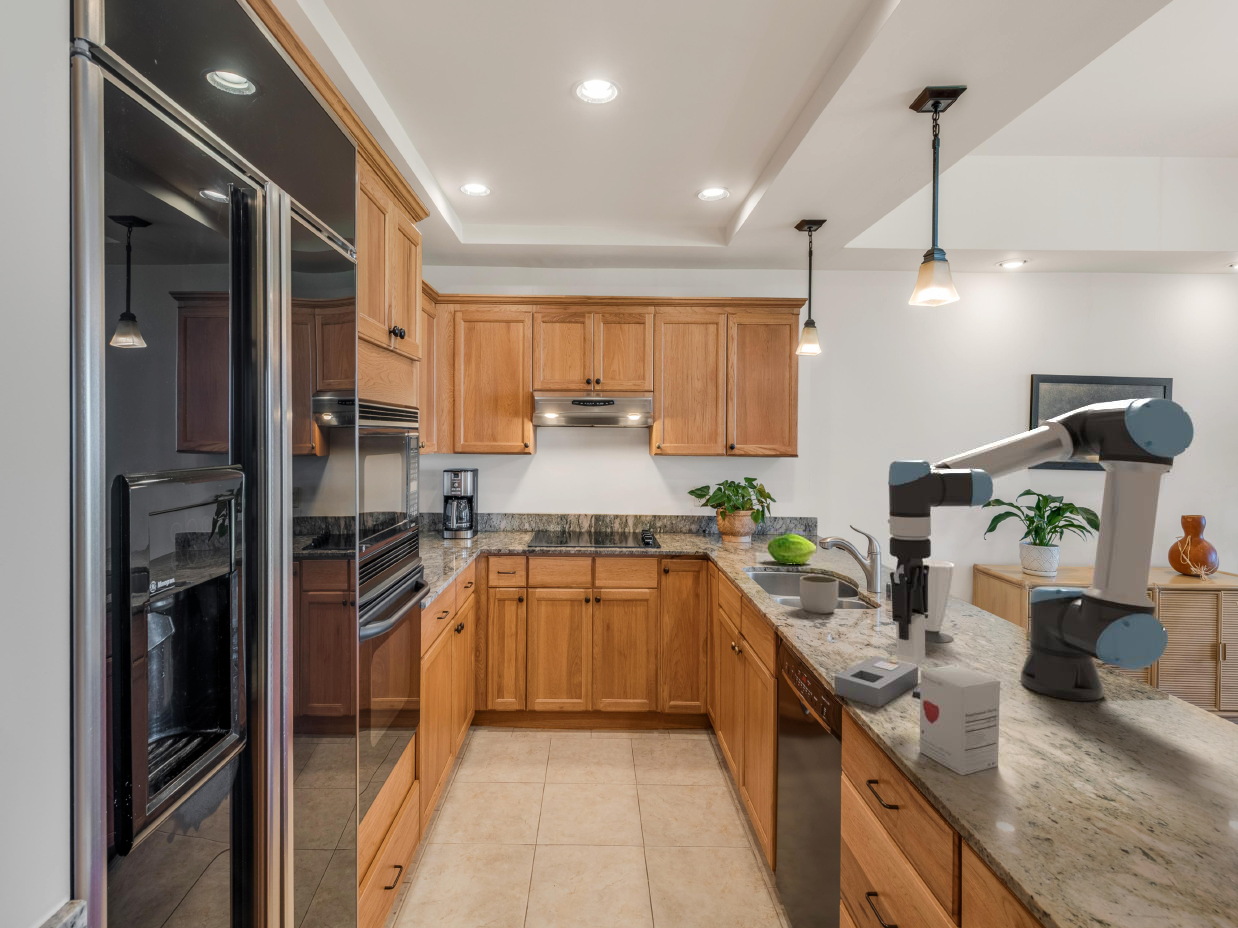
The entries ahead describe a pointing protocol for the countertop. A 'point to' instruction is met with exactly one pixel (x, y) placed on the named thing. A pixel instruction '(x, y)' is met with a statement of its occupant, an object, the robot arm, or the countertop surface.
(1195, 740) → the countertop surface
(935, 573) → the cup
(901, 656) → the block
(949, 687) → the supplement box
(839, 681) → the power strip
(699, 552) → the countertop surface
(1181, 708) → the countertop surface
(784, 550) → the green oval fruit
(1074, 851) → the countertop surface
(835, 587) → the planter
